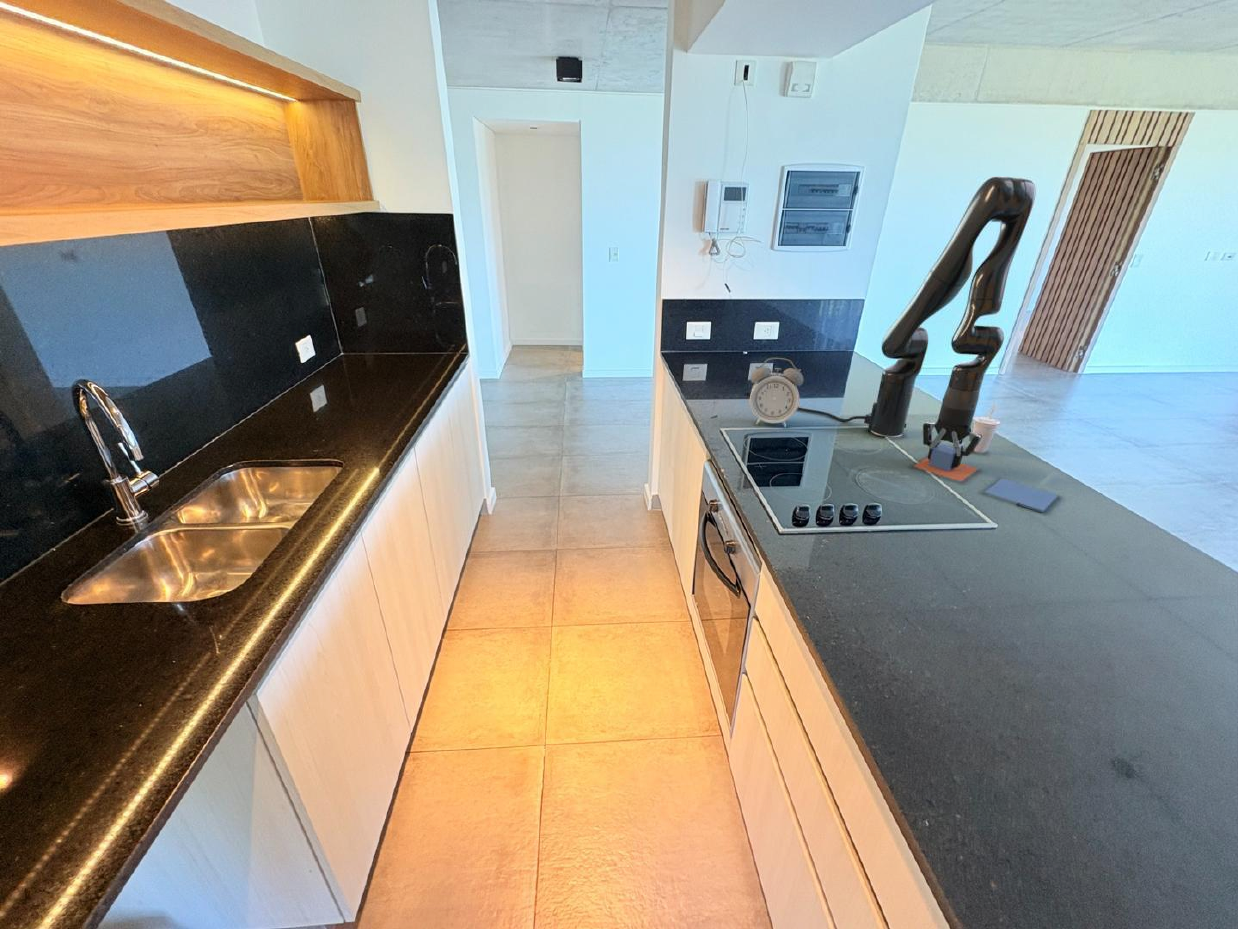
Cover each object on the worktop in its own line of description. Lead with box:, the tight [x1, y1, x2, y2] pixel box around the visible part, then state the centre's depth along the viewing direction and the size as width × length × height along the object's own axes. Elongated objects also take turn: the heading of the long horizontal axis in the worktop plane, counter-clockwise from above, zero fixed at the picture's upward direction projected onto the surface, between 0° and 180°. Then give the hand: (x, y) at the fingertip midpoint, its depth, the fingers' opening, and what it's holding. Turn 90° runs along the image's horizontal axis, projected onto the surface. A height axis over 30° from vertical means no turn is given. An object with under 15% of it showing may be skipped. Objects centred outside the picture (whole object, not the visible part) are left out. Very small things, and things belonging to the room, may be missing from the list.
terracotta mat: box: [913, 457, 979, 482], centre depth 143 cm, size 12×12×1 cm
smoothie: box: [972, 405, 1001, 454], centre depth 151 cm, size 6×6×14 cm
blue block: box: [929, 443, 956, 471], centre depth 142 cm, size 5×5×5 cm
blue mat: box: [984, 478, 1059, 514], centre depth 129 cm, size 12×12×1 cm
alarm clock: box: [749, 357, 804, 428], centre depth 171 cm, size 16×9×22 cm, turn 74°
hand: (942, 464), depth 143 cm, fingers closed on blue block, 5 cm apart
